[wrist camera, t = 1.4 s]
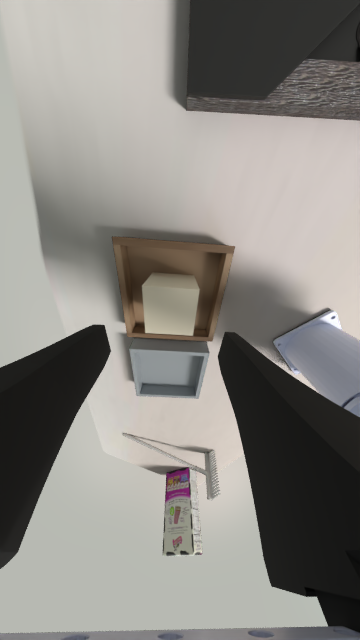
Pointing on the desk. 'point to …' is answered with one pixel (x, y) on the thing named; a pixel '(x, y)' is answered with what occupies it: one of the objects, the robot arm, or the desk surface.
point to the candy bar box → (181, 514)
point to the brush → (194, 467)
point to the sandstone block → (170, 303)
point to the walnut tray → (172, 258)
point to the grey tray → (168, 367)
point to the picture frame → (275, 57)
